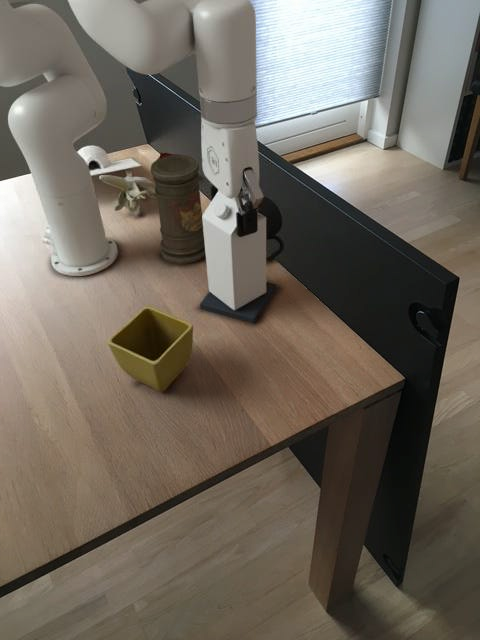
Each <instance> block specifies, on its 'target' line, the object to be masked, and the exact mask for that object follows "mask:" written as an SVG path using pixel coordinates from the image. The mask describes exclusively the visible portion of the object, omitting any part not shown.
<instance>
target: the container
mask: <svg viewBox="0 0 480 640" xmlns="http://www.w3.org/2000/svg"><path fill="white" fill-rule="evenodd" d="M157 159H158V158H157ZM157 159H156V160H154V161H153V162H152V163H151V165H150V174H151V176H152V180H153V182H154V185H155V193H156V197H155V198H156V203H157V211H158V217H159V223H160V227H159V228H160V229H159V232H160V235H161V240H160V247H161V249H160V250H161V256H162V257H163V258H164V260H166V261H168V262H169V263H173V264H177V265H184V264H185V265H187V264H191V263H196V262H198V261H200V260H202V259H204V257H206V253H205V243H204V232H203V221H202V215H203V211H202V203H201V192H200V187H201V186H200V183H199V178H198V177H199V170H200V165H199V162H198V161H197V160H196V158H194V157H192V156H190V155H185V154H179V155H171V156H166V157H163V158H160V159H158V160H157Z"/></svg>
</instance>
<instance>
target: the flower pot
mask: <svg viewBox="0 0 480 640" xmlns="http://www.w3.org/2000/svg"><path fill="white" fill-rule="evenodd" d="M193 336H194V324H192V323H190V322H188V321H185V320H183V319H180V318H178V317H175V316H173V315H170V314H168V313H165V312H163V311H161V310H159V309H156V308H154V307H151V306H146V305H145V306H144V307H143V308H141V309H140V310H139V311H138V312H137V313H136V314H135V315H134V316H133V317H132V318H131V319H130V320H129V321H128V322H127V323H126V324H125V325H123V326H122V327H121V328H120V329H119V330H118V331H116V333H114V334H113V335H112V336H111V337H110V338H108V340H107V341H106V343H107V344H108V346H109V349H110V351H111V352H112V354H113V357H114V359H115V360H116V362H117V364H118V366H119V367H120V368H121V369H122V370H123V372H125V373H126V374H127V375H128V376H130V377H131V378H132V379H134V380H136V381H137V382H140V383H142V384H143V385H146V386H147V387H149V388H151V389H154V390H155V391H158V392H159V393H164V392H165V391H166V390H167V389H168V387H169V386H170V385H171V384H172V383H173V382H174V381H175V380H176V379H177V378H178V376H179V375H180V374H182V372H183V371H184V369H185V368H186V366H187V365H188V363H189V361H190V359H191V357H192V353H193V341H194V340H193V339H194V338H193Z"/></svg>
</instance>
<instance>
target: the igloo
mask: <svg viewBox="0 0 480 640" xmlns="http://www.w3.org/2000/svg"><path fill="white" fill-rule="evenodd" d="M77 153H78V154H79V155H80V156H81V157H82V158H83V159H84V160H85V161H86V163H87V165H88V167H89V170H90V174H91V177H92V176H93V177H94V176H98V175H104V174H108V173H114V172H117V171H123V170H124V169H128V168H131V169H132V168H138V167H141V166H142V165H141V164H140V163H139V162H137V161H136V160H135V159H133V158H126V159H125V158H124V159H120V160H115V161H111V162H110V158H109V155H108V153H107V151H105V149H103V148H102V147H100V146H97V145H86V146H83V147H81V148H80V149H79V150H77Z"/></svg>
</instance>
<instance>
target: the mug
mask: <svg viewBox="0 0 480 640" xmlns="http://www.w3.org/2000/svg"><path fill="white" fill-rule="evenodd" d="M257 212H258V213H259V214H261V215H263V216H265V217H266V242H268V240H275V241H276V242H278V243H279V248H278V249H277V250H275V252H273V253H271V254H270V255H266V262H268V261H272V260H274V259H275V258H276V257H278V256H279V255H280V254H282V253H283V251H284V249H285V242H284V240H283V239H282V238H281V237H280V236H278V235H277V234H278V233H279V232H280V231H281V230H282V227H283V216H282V213H281V210H280V208H279V207H278V205H277V204H276V202H274V201H273V200H272V199H271V198H269V197H267V196H265V195H263V200H262V202H261V206H260V207H259V210H258V211H257Z"/></svg>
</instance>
